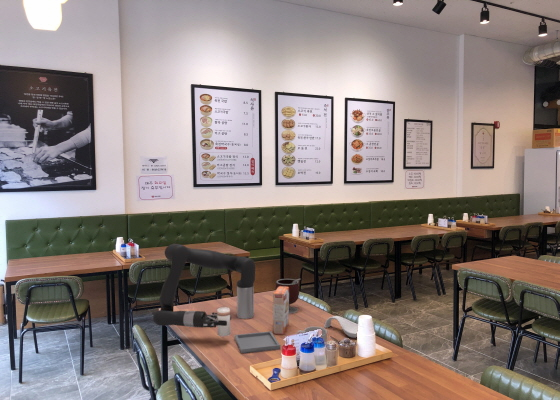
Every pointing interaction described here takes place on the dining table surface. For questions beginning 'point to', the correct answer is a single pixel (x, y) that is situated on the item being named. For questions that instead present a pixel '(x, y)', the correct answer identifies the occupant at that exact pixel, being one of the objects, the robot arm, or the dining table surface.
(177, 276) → the robot arm
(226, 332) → the salt shaker
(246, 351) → the tray
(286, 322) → the cracker box
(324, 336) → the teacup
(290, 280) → the mate gourd
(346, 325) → the spoon rest
